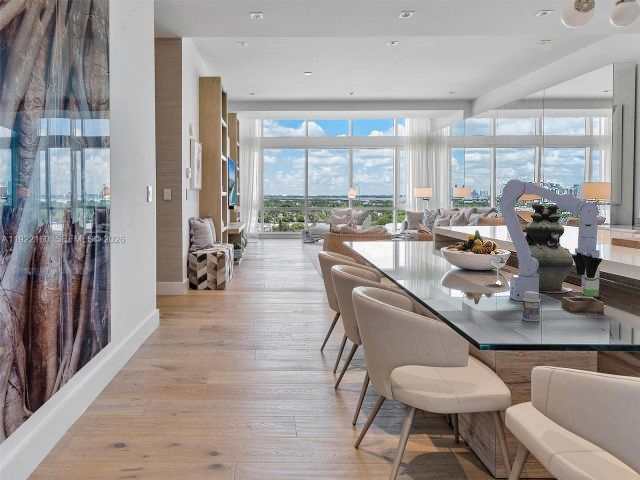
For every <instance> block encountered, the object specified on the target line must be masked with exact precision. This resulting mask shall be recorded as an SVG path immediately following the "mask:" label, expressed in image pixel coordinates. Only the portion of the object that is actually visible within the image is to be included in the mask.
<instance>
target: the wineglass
mask: <svg viewBox="0 0 640 480" xmlns="http://www.w3.org/2000/svg"><path fill="white" fill-rule="evenodd" d="M490 257H491V258H490V263H491V265H492V266H493V267H495V268H496V269H497V270H496V278H497V279H496V281H491V283H492V284H499V285H501V284H504V282H502V281H499V274H500V269H501V268H503V267H504V266H505V265H507V261H508V260H507V255H501V254H495V255H494V254H493V255H490Z"/></svg>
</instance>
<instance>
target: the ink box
mask: <svg viewBox="0 0 640 480" xmlns="http://www.w3.org/2000/svg"><path fill="white" fill-rule="evenodd" d="M600 268H601V267H600V266H598V268H597V271H596V274H595V277H594V278H587V275H586V270H585V274H584V275H581V290H580V293H581V294H583V295H584V297H599V296H600V273H601V272H600Z"/></svg>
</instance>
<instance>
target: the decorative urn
mask: <svg viewBox="0 0 640 480" xmlns="http://www.w3.org/2000/svg"><path fill="white" fill-rule="evenodd" d="M531 208H532V209H533V210H534V213H532V214H530V218H531V219H532V221H530V222H528V223H527V224H526V225H525V229H524V231H525V233H526V234H524V235H525V238H526V240H527V243H528V246H529V248H530V250H531V252H532V254H533V256H534V257H535V258H536V259H537V260H538V262H539V267H538V269H537V271H536V272H537V273H538V274H539V293H540V292H541V293H549V294H550V293H551V294H555V293H557V294H559V293H560V294H564V293H569V292H572V291H573V288H569V287H564V286H563V283H564V281H565V279H566V278H567V277H568V276H569V274H570V272H571V269H572V267H573V265H574V260H573V258H572V254H571V251H570V249H569V248H567V247H563V246H561V240H560V239H561V237H562V236H564V234H565V227H564V226H563V224H562V223H560V222H559V220H560V219H561V215H559V214H558V213H557V210H560V208H558V207H557V204H555V205H548V206H547V207H545V206H544V205H542V204H531ZM516 257H517V256H516ZM516 265H517V267H518V266H519V260H518V257H517V258H516Z"/></svg>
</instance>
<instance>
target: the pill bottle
mask: <svg viewBox="0 0 640 480" xmlns="http://www.w3.org/2000/svg"><path fill="white" fill-rule="evenodd" d="M538 298H539V299H538ZM540 299H541V298H540V292H535V291H525V298H524V299H523V301H522V320H524V321H526V322H538V321H540V315H541V314H540V313H541V312H540V311H541V301H540Z"/></svg>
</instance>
